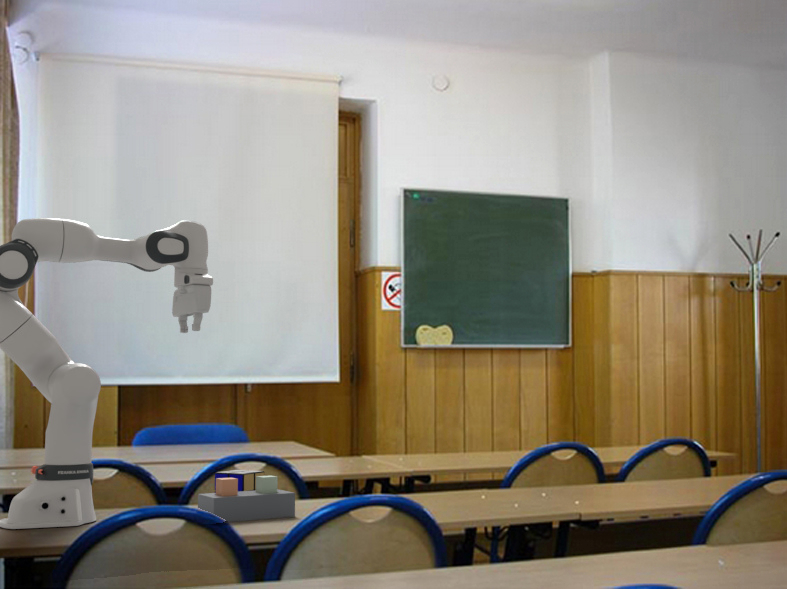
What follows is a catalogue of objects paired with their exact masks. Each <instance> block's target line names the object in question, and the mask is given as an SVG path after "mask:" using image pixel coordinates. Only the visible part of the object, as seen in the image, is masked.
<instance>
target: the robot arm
mask: <svg viewBox="0 0 787 589" xmlns="http://www.w3.org/2000/svg"><path fill="white" fill-rule="evenodd" d="M208 239H209V238H208V232H207V228H206V227H205V225H203V224H202V223H200V222H197V221H194V220H183V219H182V220H179V221H178V222H177V223H176V224H174V225H173V224H172V225H171V226H170V227H169V226H168V227H166V228H163V229H158V230H155V231H152V232H150V233H149V234H146V235H143V236H139V237H137V238H134V239H123V238H115V237H113V238H112V237H107V236H106V237H104V236H101V235H98V233H97V234H96V233H95V231H94V230H93V229H92V227H91V226H90V225H89V224H88V223H84V222H82V221H77V220H73V219H66V218H54V217H37V218H36V217H35V218H25V219H21V220H19V221H18V222H16V224H15V226H14V227H13V230H12V233H11V240H10V241H8V242H6V243H3V244H0V349H1V351H3V353H5V355H6V356H7V357H8V358H9V359H10V360H12V362H13V363H14V364H15V365H17V367H18V368H19V369H20V370H21V371H22V372H23V373H24V375H25V376H26V377H27V378H28V379H29V381H30V382H31V384H32V385H34V386H35V388H36V389H37V390H38V391H39V393H41V395H42V396H43V397H44V398H45V399H46V400H47V402H48V403H50V409H49V410H50V411H49V415H48V416H49V417H48V422H47V426H46V429H45V439H44V440H45V444H44V464H42V465H40V466H37V465H33V466H32V467H31V468H30V473H31V474H33V475H35V476H34V478H35V480H34V481H33V482H32V483H30V484H29V485H28V486H26V487H24V489H23V490H21V491H20V492H19V493H17V494H15V496H13V498H12V500H11V502H10V505H9V510H8V515H7V518H1V519H0V528H1V529H2V528H3V529H7V530H8V529H10V530H16V529H17V530H20V529H39V528H57V527H58V528H60V527H78V526H81V525H84V524H88V523H93V522H95V521H97V516H96V512H95V507H94V500H93V491H92V489H93V488H92V486H93V484H94V483H93V482H94V463H92V459H93V458H92V455H93V454H92V453H93V451H92V449H93V448H92V447H93V434H94V433H93V430H94V426H95V425H94V423H95V419H96V413H97V408H98V400H99V394H100V391H101V388H102V387H101V386H102V383H101V378H100V376H99V374H98V373H97V372H96V371H95V370H94V369H93V368H92V367H91V366H90V365H88V364H85V363H81V362H75V361H74V360H73V359H71V357H70V356H69V354H68V353H67V352H66V351H65V349H64V348H63V347H62V345H61V344H60V342H59V341H58V340H57V338H56V336H55V335H54V334H53V333H52V332H51V331H50V330H49V329H48V328H47V327H46V326H45V324H44V323H42V322H41V321H40V320H39V319H38V318H37V317H36V316H35V315H34V314H33V313H32V311H30V310H29V309H28V308H27V307H26V306H25V305H24V303H23V302H22V300H21V298H20V296H19V289H20V288H21V287H22V286H25V284H27V283H28V282H29V280H30V279H31V278H32V276H33V275H34V271H35V268H36V265H37V263H39V262H40V263H41V262H42V263H43V262H49V263H63V264H65V263H66V264H67V263H69V264H70V263H71V264H72V263H73V264H75V263H84V262H90V261H104V262H113V263H123V264H128V265H129V266H133V267H134V268H136V269H137V270H141V271H143V272H149V273H151V272H157V271H159V270H161V269H162V268H164V267H166V266H173V267H174V282H173V283H174V284H173V285H174V286H173V287H174V288H176V290H174V291H173V297H172V307H171V308H172V309H171V310H172V312H171V313H172V316H173V317H174V318H178V319H177V320H178V324H179V332H180V333H181V334H187V333H188V332H189V326H188V322H187V321H188V317H191V316H192V318H193V321H192V322H193V323H192V324H191V331H193V332H200V331H201V324H202V321H203V317H204V316H203V314H206V313H209V311H210V310H211V304H212V286H213V285H214V278H213V276H211V275H210V274H208V273H209V269H208V265H207V264H208V262H207V260H208V256H209V240H208Z"/></svg>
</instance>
